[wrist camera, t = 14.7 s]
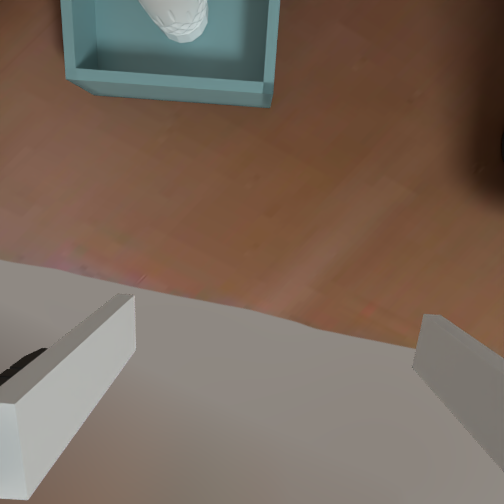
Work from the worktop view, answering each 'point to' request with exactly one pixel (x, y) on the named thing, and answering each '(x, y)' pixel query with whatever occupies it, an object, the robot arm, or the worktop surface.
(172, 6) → the white cup
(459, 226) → the worktop surface
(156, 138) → the worktop surface
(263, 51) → the walled box
